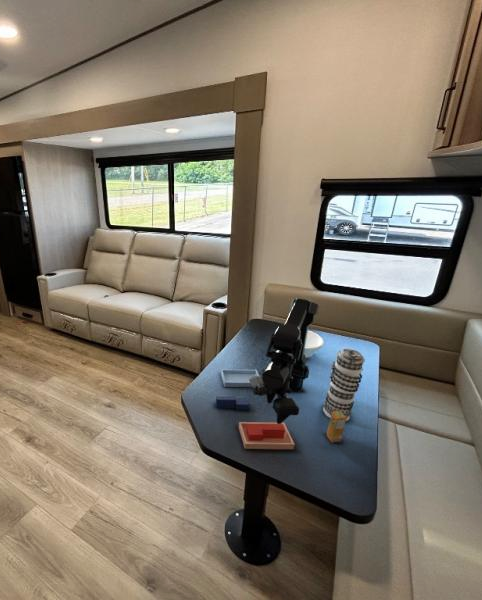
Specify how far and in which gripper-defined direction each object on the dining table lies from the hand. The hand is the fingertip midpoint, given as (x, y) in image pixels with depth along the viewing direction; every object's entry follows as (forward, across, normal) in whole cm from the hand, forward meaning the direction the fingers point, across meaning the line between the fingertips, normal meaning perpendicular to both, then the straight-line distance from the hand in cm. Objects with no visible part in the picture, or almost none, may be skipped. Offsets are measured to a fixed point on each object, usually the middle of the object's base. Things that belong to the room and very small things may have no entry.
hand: (273, 412), depth 99 cm
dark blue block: (+10, -15, -10) cm, 20 cm away
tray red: (+10, 0, -2) cm, 10 cm away
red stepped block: (+9, 0, -2) cm, 9 cm away
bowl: (+10, -53, +30) cm, 62 cm away
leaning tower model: (+10, -11, +27) cm, 31 cm away
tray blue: (+10, -31, -3) cm, 32 cm away
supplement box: (+10, 0, +20) cm, 23 cm away
